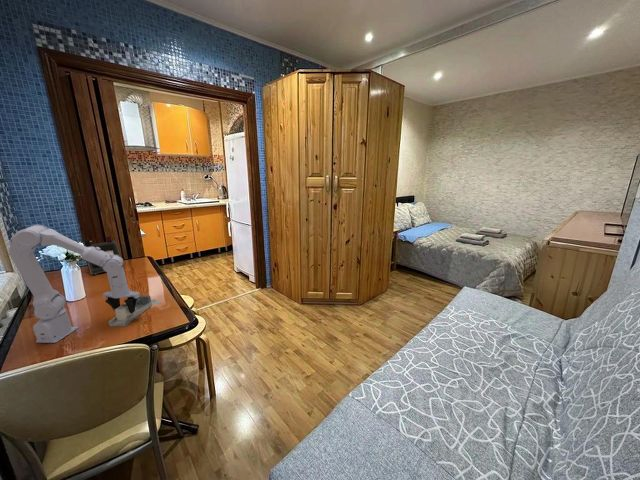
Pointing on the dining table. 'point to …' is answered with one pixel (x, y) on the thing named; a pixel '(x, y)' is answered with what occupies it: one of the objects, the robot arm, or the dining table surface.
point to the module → (123, 312)
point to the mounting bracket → (155, 302)
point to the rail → (141, 306)
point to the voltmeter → (107, 247)
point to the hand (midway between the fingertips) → (125, 312)
